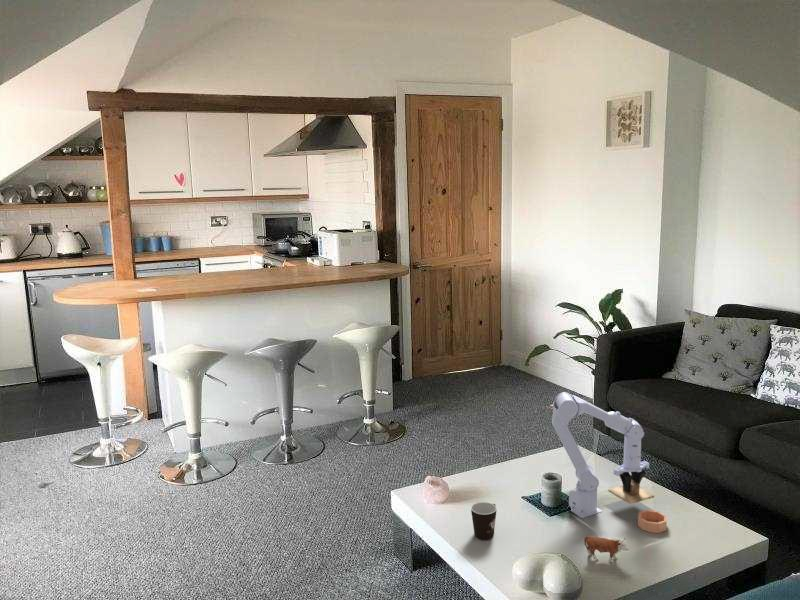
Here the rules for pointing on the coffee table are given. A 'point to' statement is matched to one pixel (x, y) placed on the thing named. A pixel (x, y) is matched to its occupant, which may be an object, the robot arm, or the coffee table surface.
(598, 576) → the coffee table surface
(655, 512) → the terracotta bowl
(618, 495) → the oak lid
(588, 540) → the bull figurine
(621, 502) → the mat
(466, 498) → the coffee table surface
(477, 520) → the coffee mug
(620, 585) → the coffee table surface
